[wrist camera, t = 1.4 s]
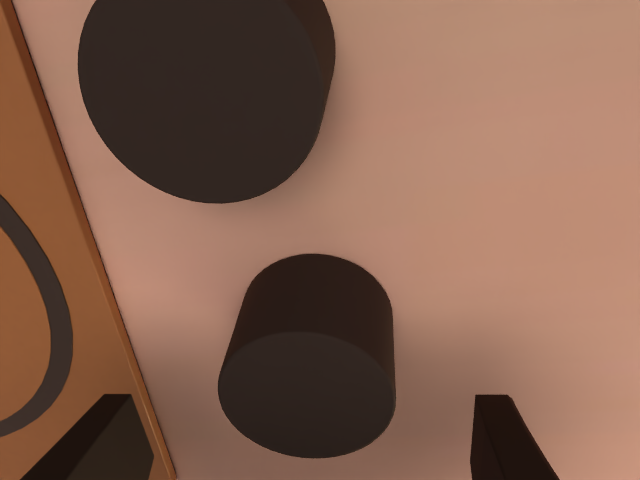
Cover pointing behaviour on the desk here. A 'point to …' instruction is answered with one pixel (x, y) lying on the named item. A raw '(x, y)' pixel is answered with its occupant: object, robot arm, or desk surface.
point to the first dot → (311, 359)
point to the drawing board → (51, 285)
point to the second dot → (208, 90)
